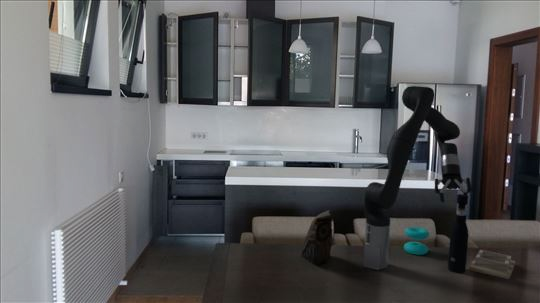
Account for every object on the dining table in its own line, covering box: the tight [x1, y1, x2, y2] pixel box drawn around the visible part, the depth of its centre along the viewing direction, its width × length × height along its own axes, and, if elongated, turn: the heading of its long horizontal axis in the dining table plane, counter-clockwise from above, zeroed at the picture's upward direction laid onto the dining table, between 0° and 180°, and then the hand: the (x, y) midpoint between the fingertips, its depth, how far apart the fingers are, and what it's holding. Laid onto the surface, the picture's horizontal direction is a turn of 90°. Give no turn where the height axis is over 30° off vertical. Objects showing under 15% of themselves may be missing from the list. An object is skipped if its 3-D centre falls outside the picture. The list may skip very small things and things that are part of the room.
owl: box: [300, 209, 334, 266], centre depth 173 cm, size 13×13×20 cm
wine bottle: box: [447, 193, 469, 274], centre depth 166 cm, size 6×6×30 cm
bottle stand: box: [468, 249, 516, 280], centre depth 171 cm, size 18×14×4 cm
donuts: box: [403, 226, 430, 256], centre depth 186 cm, size 10×10×10 cm
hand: (454, 202), depth 178 cm, fingers open, 8 cm apart
